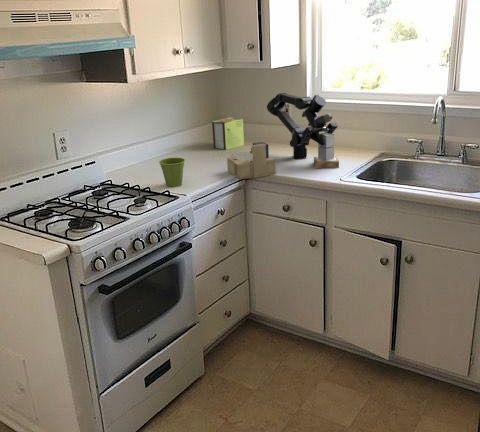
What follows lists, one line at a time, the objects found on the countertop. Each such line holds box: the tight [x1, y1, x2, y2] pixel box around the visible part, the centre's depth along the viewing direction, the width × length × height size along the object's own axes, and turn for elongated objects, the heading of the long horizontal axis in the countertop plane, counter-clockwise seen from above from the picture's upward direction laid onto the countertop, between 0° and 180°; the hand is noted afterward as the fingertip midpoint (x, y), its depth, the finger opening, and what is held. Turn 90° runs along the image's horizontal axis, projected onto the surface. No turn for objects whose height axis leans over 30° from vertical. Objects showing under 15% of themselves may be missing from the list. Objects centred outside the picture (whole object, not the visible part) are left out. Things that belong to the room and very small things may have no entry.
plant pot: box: [158, 157, 186, 188], centre depth 242 cm, size 12×12×11 cm
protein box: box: [211, 117, 245, 151], centre depth 310 cm, size 10×15×16 cm
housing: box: [317, 132, 335, 160], centre depth 261 cm, size 6×5×12 cm
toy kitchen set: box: [226, 143, 277, 180], centre depth 255 cm, size 18×17×15 cm
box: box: [252, 141, 270, 158], centre depth 270 cm, size 8×6×11 cm
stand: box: [313, 155, 340, 169], centre depth 264 cm, size 11×11×3 cm
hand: (328, 144), depth 260 cm, fingers open, 6 cm apart
